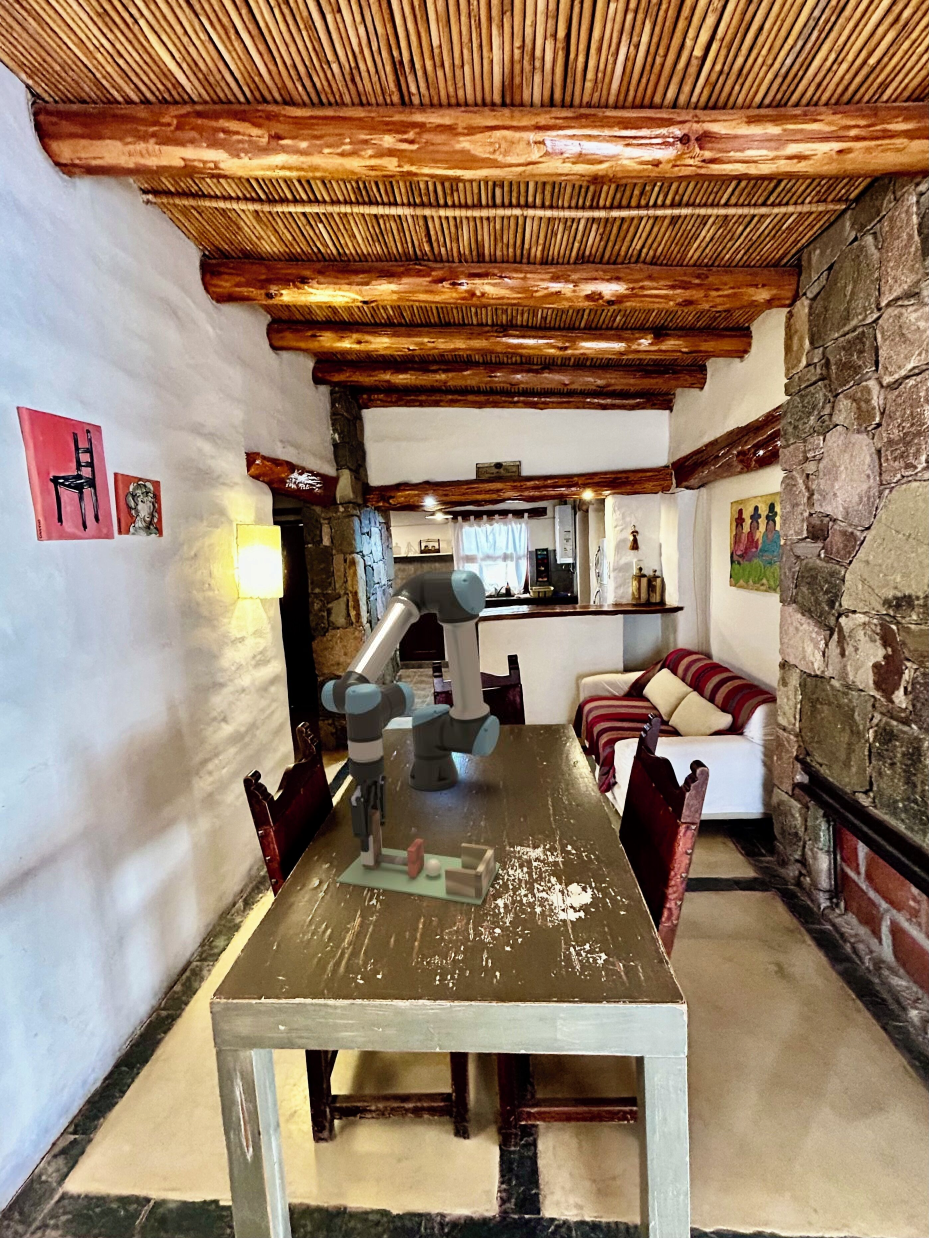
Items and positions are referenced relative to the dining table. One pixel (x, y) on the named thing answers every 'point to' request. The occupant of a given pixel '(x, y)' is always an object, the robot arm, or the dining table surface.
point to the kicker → (412, 860)
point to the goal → (471, 871)
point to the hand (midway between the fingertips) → (372, 858)
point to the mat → (399, 881)
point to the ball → (433, 867)
